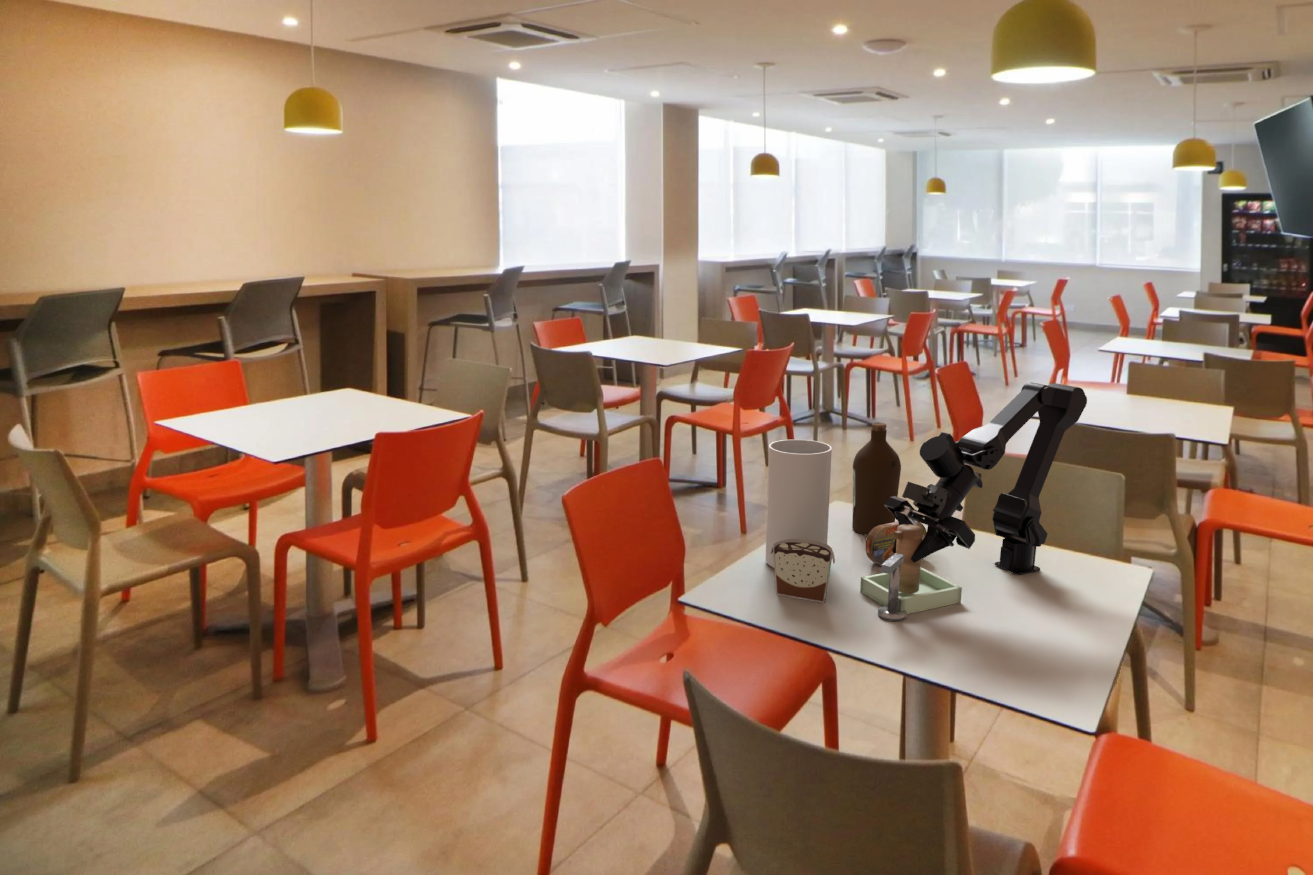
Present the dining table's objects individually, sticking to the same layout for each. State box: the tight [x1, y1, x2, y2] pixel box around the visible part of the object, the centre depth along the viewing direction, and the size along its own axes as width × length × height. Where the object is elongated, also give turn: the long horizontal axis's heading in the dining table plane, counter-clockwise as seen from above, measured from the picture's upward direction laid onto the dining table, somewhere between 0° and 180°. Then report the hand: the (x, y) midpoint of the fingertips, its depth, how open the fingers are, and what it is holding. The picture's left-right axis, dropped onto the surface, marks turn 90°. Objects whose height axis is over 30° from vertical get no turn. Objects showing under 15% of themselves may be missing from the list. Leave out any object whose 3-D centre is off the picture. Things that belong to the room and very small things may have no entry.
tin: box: [865, 520, 927, 566], centre depth 198 cm, size 15×3×8 cm, turn 117°
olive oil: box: [851, 422, 902, 536], centre depth 215 cm, size 11×11×25 cm
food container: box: [770, 539, 836, 604], centre depth 180 cm, size 12×6×10 cm, turn 65°
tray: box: [859, 566, 963, 615], centre depth 179 cm, size 14×12×3 cm
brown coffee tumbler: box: [894, 524, 923, 593], centre depth 177 cm, size 6×5×12 cm
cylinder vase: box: [765, 438, 833, 569], centre depth 194 cm, size 12×12×25 cm
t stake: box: [877, 553, 908, 622], centre depth 169 cm, size 8×5×11 cm, turn 146°
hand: (903, 556), depth 176 cm, fingers closed on brown coffee tumbler, 4 cm apart
